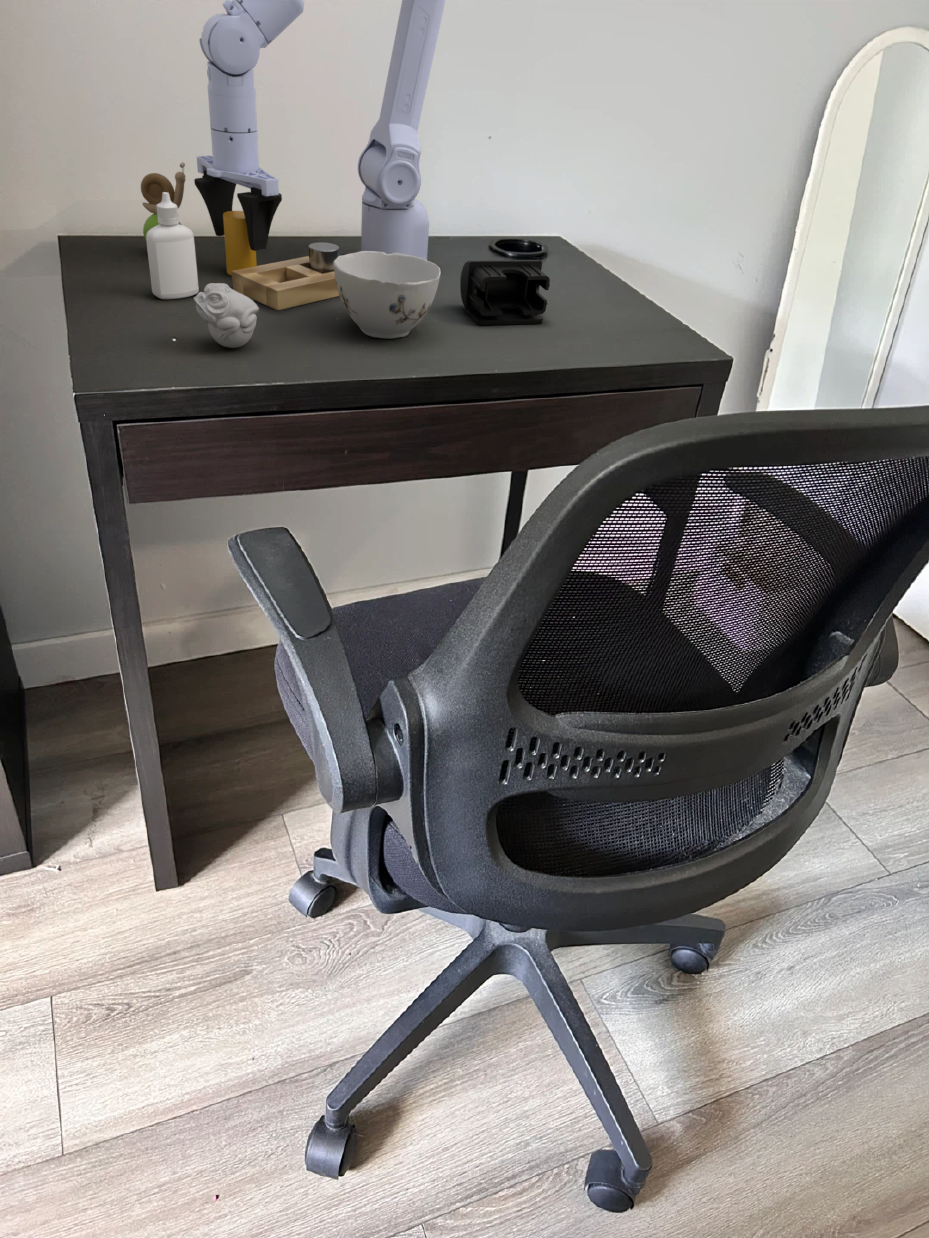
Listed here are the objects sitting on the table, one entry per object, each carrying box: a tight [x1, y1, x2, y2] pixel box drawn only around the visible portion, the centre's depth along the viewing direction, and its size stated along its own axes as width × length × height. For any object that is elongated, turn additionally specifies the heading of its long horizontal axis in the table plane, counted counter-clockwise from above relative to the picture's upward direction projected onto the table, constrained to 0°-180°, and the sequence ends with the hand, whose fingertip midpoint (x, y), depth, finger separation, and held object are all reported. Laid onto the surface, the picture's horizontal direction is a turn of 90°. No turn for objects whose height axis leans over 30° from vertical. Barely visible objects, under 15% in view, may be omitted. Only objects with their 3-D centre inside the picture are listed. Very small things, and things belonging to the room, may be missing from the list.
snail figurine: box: [140, 161, 187, 243], centre depth 126 cm, size 5×6×12 cm
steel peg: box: [308, 241, 340, 274], centre depth 123 cm, size 4×4×5 cm
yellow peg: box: [223, 210, 258, 276], centre depth 123 cm, size 4×4×8 cm
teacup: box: [334, 250, 442, 340], centre depth 111 cm, size 15×12×8 cm
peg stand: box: [231, 255, 340, 311], centre depth 121 cm, size 9×16×2 cm, turn 138°
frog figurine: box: [193, 282, 260, 349], centre depth 102 cm, size 6×7×7 cm
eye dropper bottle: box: [145, 192, 200, 300], centre depth 112 cm, size 4×6×12 cm
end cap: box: [459, 259, 551, 326], centre depth 118 cm, size 10×7×7 cm
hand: (240, 242), depth 123 cm, fingers open, 7 cm apart
